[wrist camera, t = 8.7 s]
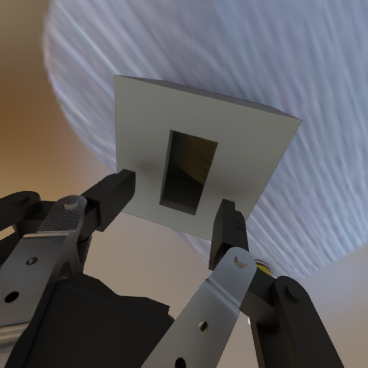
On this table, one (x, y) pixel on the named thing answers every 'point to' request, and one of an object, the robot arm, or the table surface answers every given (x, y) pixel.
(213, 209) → the coin box
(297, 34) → the table surface
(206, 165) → the yellow wooden block
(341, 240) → the table surface
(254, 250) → the table surface
